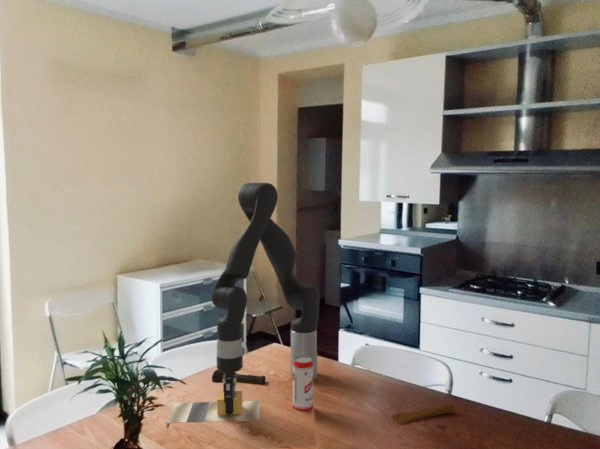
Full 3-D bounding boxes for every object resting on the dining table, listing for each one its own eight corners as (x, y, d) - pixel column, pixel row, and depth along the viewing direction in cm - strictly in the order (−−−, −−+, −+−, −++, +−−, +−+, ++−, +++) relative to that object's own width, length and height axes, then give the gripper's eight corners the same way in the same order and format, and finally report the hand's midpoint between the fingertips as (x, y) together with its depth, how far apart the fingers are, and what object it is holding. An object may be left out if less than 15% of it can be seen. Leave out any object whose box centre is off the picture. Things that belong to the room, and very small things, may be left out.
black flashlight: (266, 385, 162) (266, 372, 161) (262, 390, 158) (262, 376, 157) (215, 379, 167) (215, 366, 166) (210, 384, 163) (210, 371, 162)
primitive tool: (399, 426, 135) (399, 414, 135) (389, 417, 140) (389, 406, 140) (455, 416, 141) (456, 404, 141) (444, 408, 147) (444, 397, 146)
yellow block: (242, 405, 143) (242, 390, 142) (241, 414, 137) (241, 398, 137) (219, 405, 142) (219, 390, 142) (217, 414, 137) (217, 399, 136)
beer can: (316, 408, 145) (316, 357, 144) (308, 417, 139) (308, 364, 138) (297, 404, 148) (298, 354, 146) (289, 412, 142) (289, 361, 141)
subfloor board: (260, 405, 147) (260, 400, 147) (259, 425, 135) (259, 420, 135) (175, 407, 145) (174, 402, 145) (166, 427, 133) (166, 422, 133)
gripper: (241, 361, 131) (241, 420, 133) (243, 344, 146) (244, 397, 147) (214, 362, 131) (214, 421, 132) (219, 344, 145) (219, 397, 147)
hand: (230, 408), depth 140 cm, fingers closed on yellow block, 5 cm apart
